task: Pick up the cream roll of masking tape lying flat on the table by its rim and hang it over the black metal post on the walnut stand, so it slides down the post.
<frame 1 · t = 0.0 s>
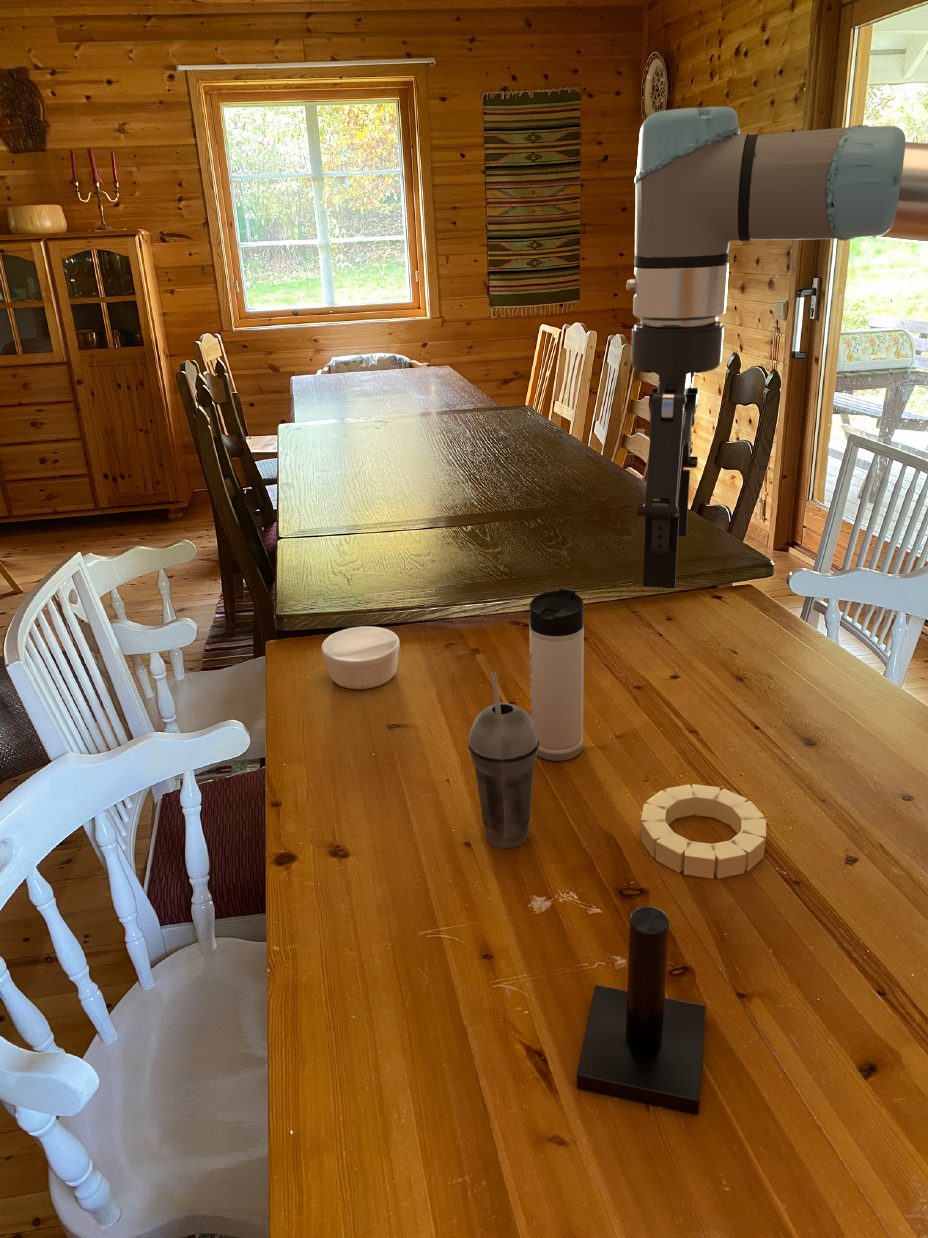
hand: (666, 558, 85), 30 cm above the table, tool pointing down, fingers open, 13 cm apart
beverage cup: (506, 836, 98), on the table
ramekin: (363, 676, 132), on the table
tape: (701, 838, 96), on the table
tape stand: (643, 1052, 72), on the table
travel mug: (557, 748, 113), on the table
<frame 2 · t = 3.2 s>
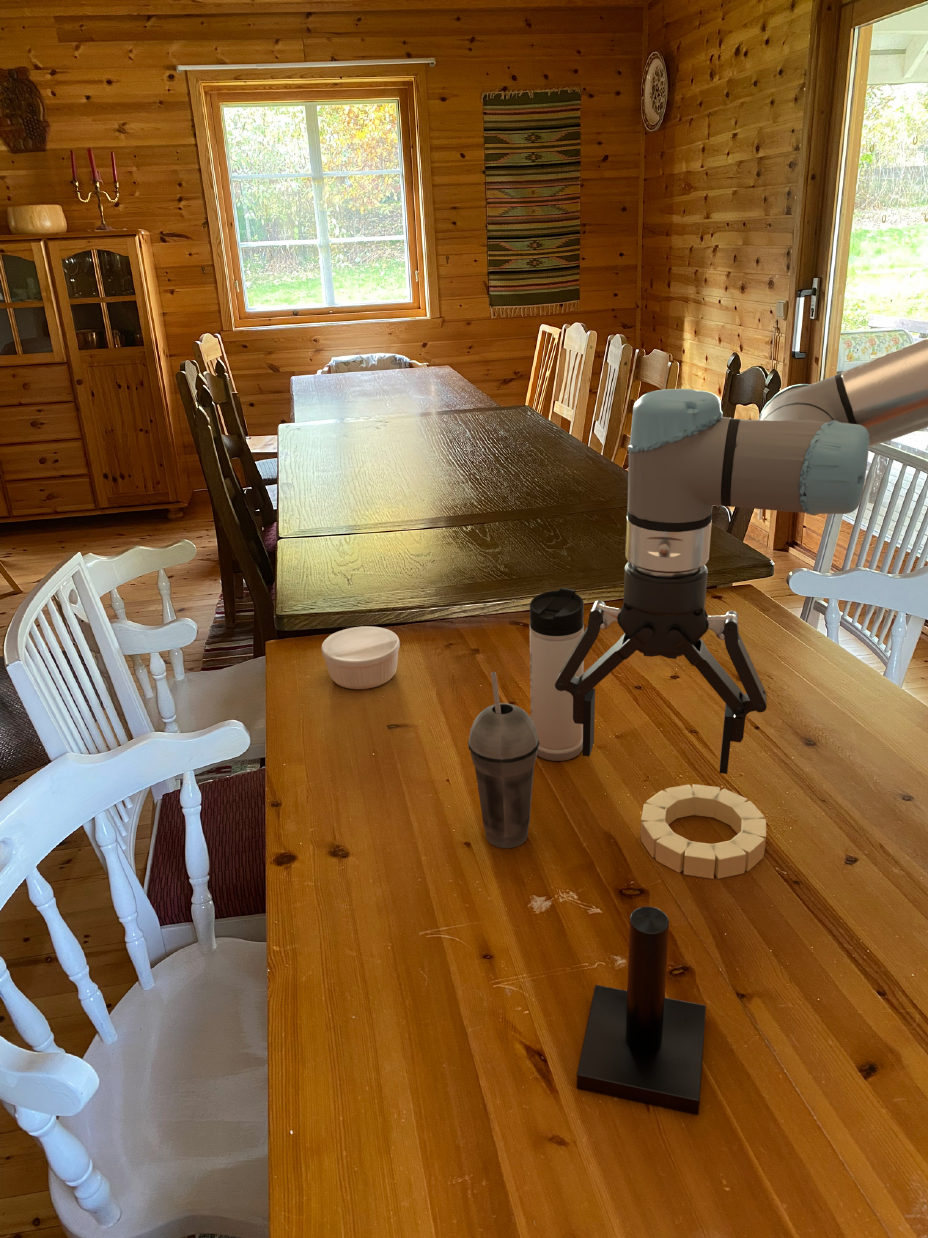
hand: (654, 758, 93), 9 cm above the table, tool pointing down, fingers open, 13 cm apart
nothing on the table moved.
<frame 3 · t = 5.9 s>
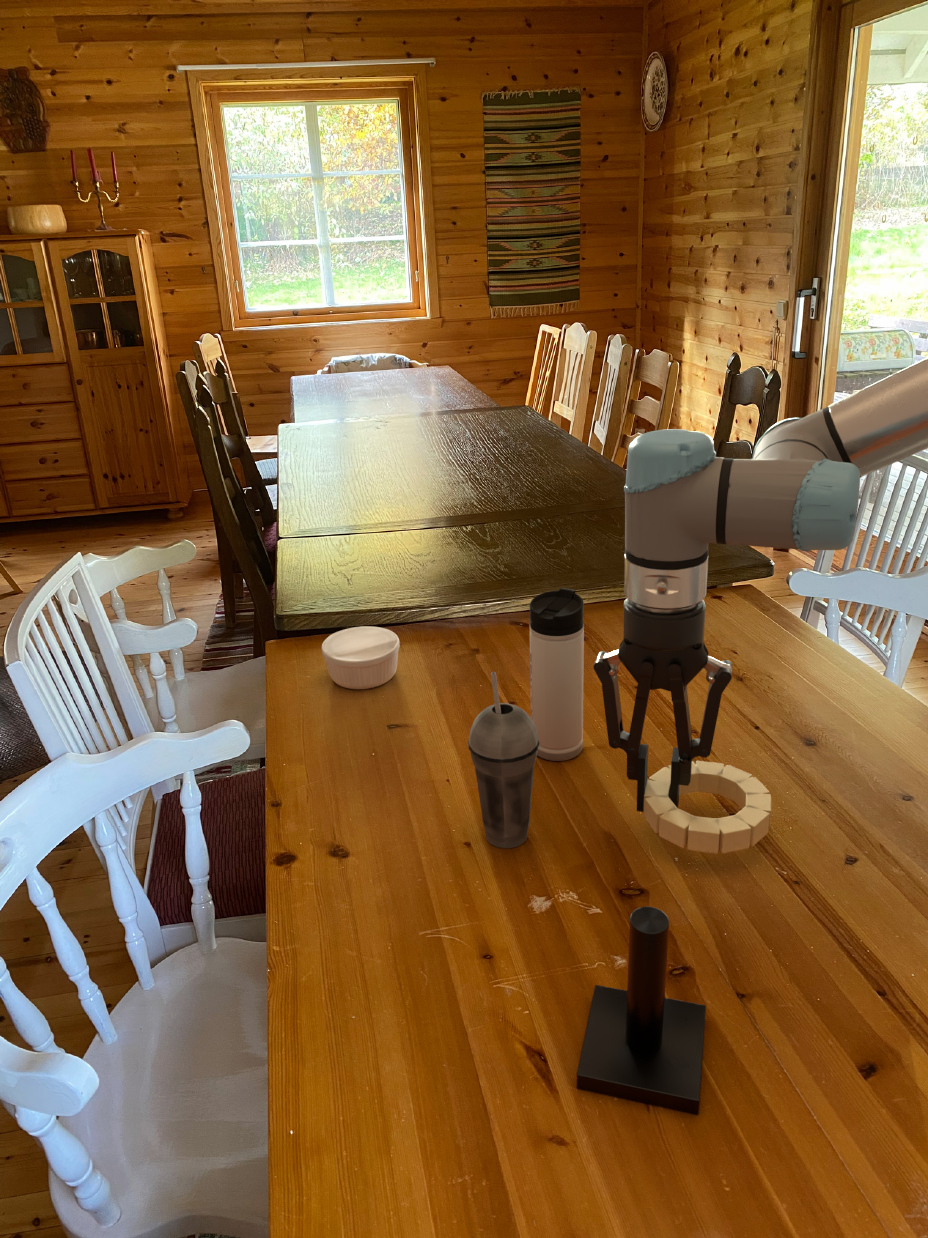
hand: (657, 805, 95), 3 cm above the table, tool pointing down, fingers closed on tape, 3 cm apart
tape: (705, 814, 94), point 3 cm above the table, touching gripper
everything else where it was.
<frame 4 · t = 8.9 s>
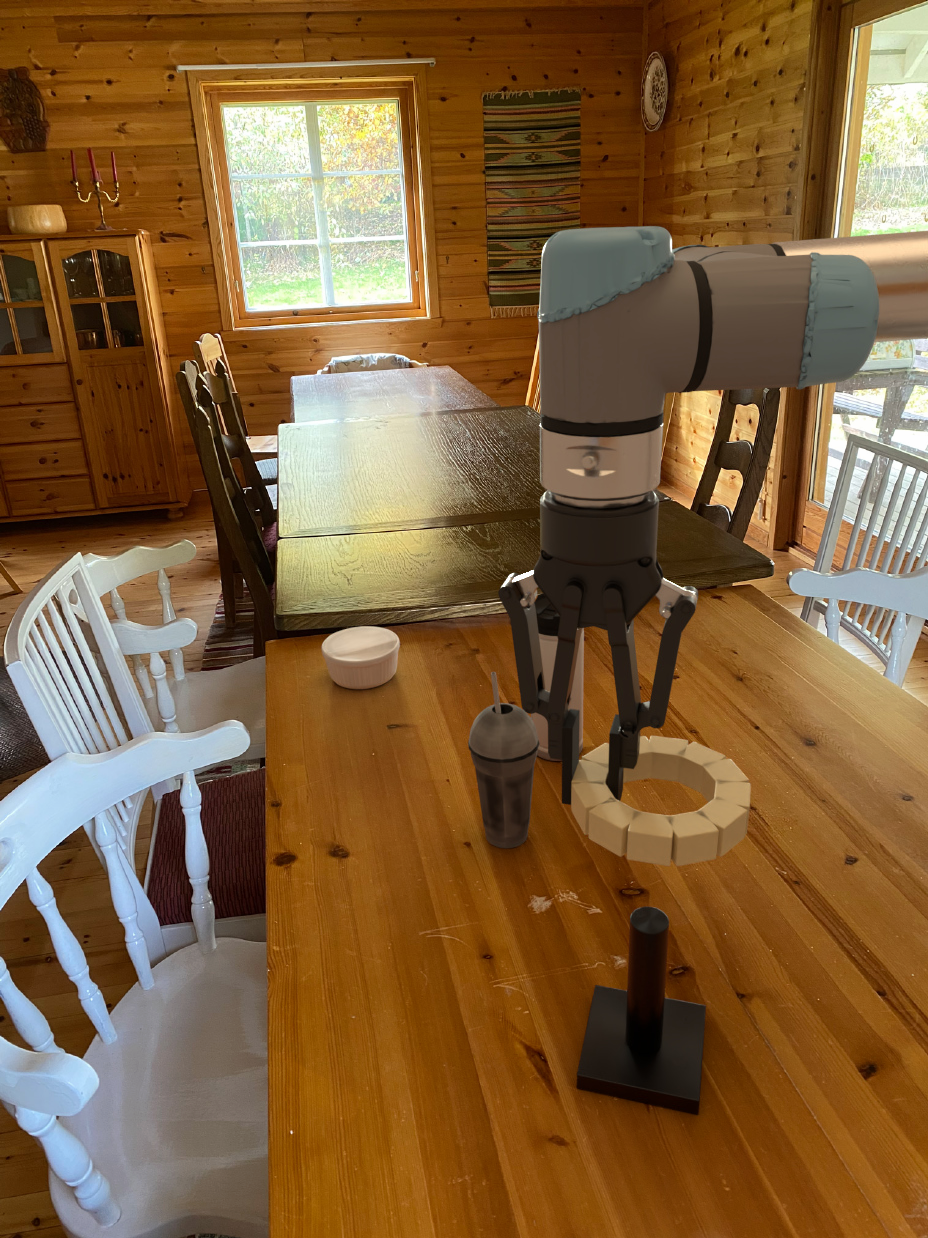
hand: (592, 796, 68), 21 cm above the table, tool pointing down, fingers closed on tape, 3 cm apart
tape: (658, 809, 67), point 21 cm above the table, touching gripper
everything else where it was.
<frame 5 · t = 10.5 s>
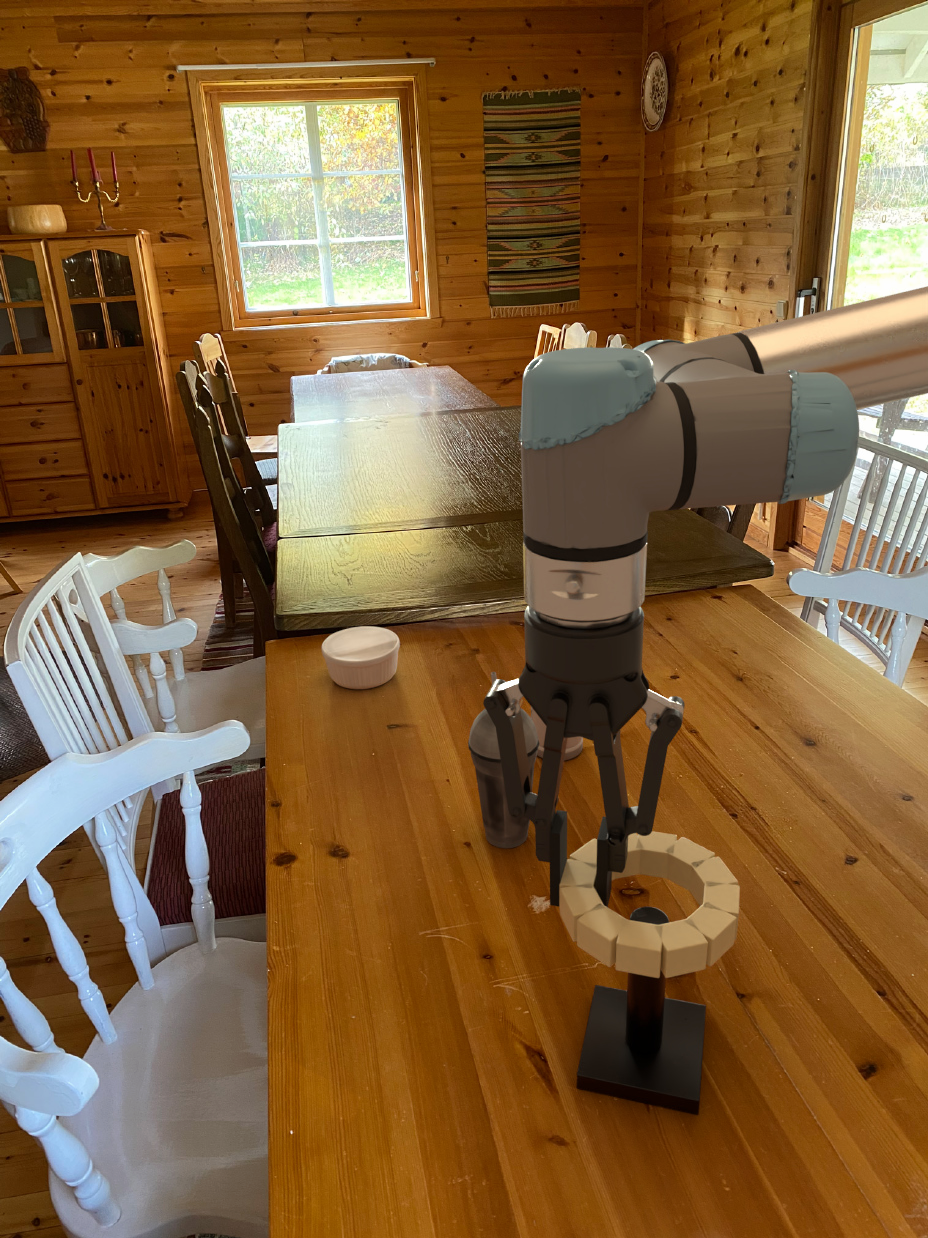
hand: (580, 896, 67), 15 cm above the table, tool pointing down, fingers closed on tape, 3 cm apart
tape: (647, 911, 66), point 14 cm above the table, touching gripper
everything else where it was.
when the fingers open (11 cm above the table, at t = 12.0 s): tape drops 9 cm, resting on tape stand.
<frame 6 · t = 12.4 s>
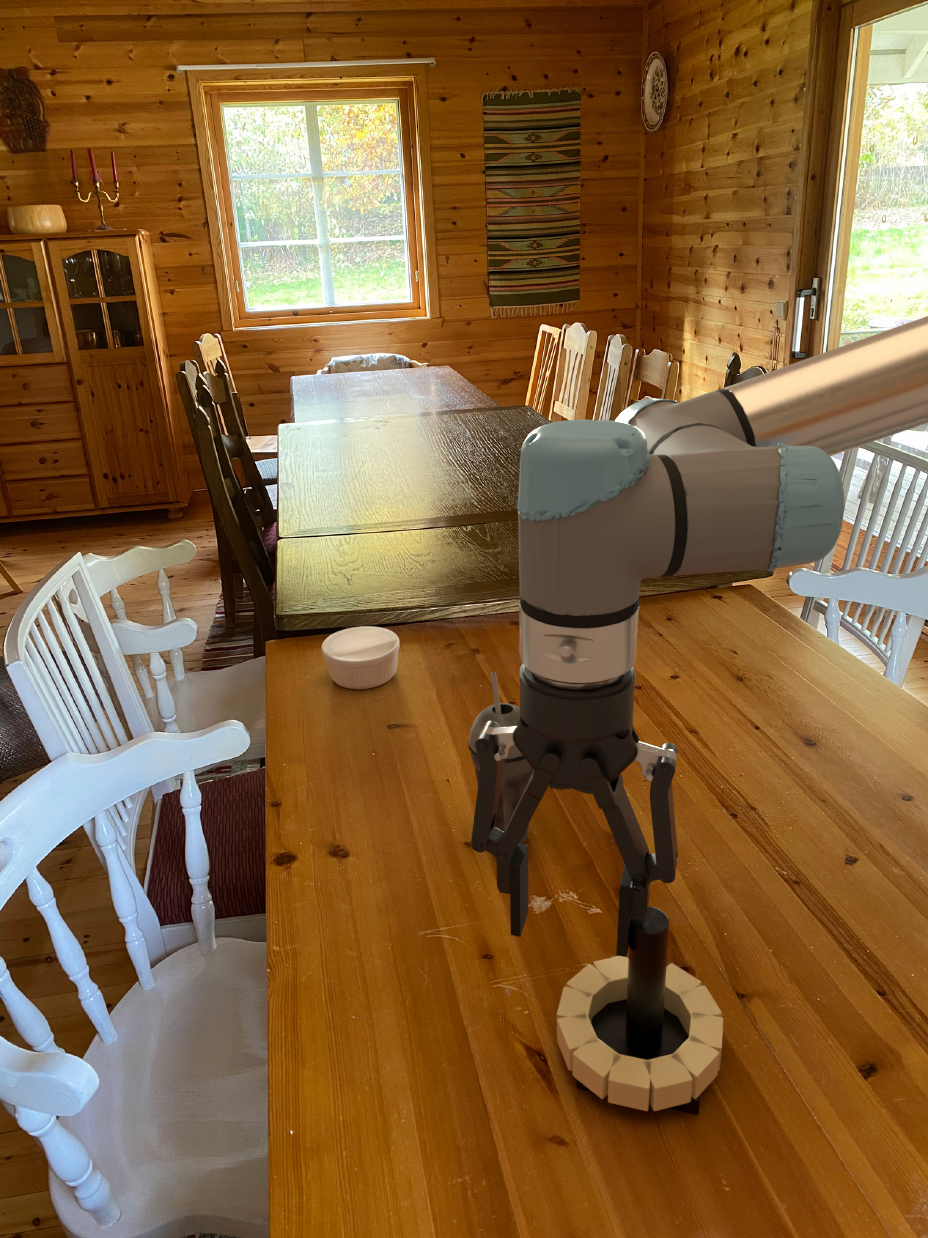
hand: (571, 933, 69), 11 cm above the table, tool pointing down, fingers open, 7 cm apart
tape: (638, 1038, 71), point 1 cm above the table, touching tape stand
everything else where it was.
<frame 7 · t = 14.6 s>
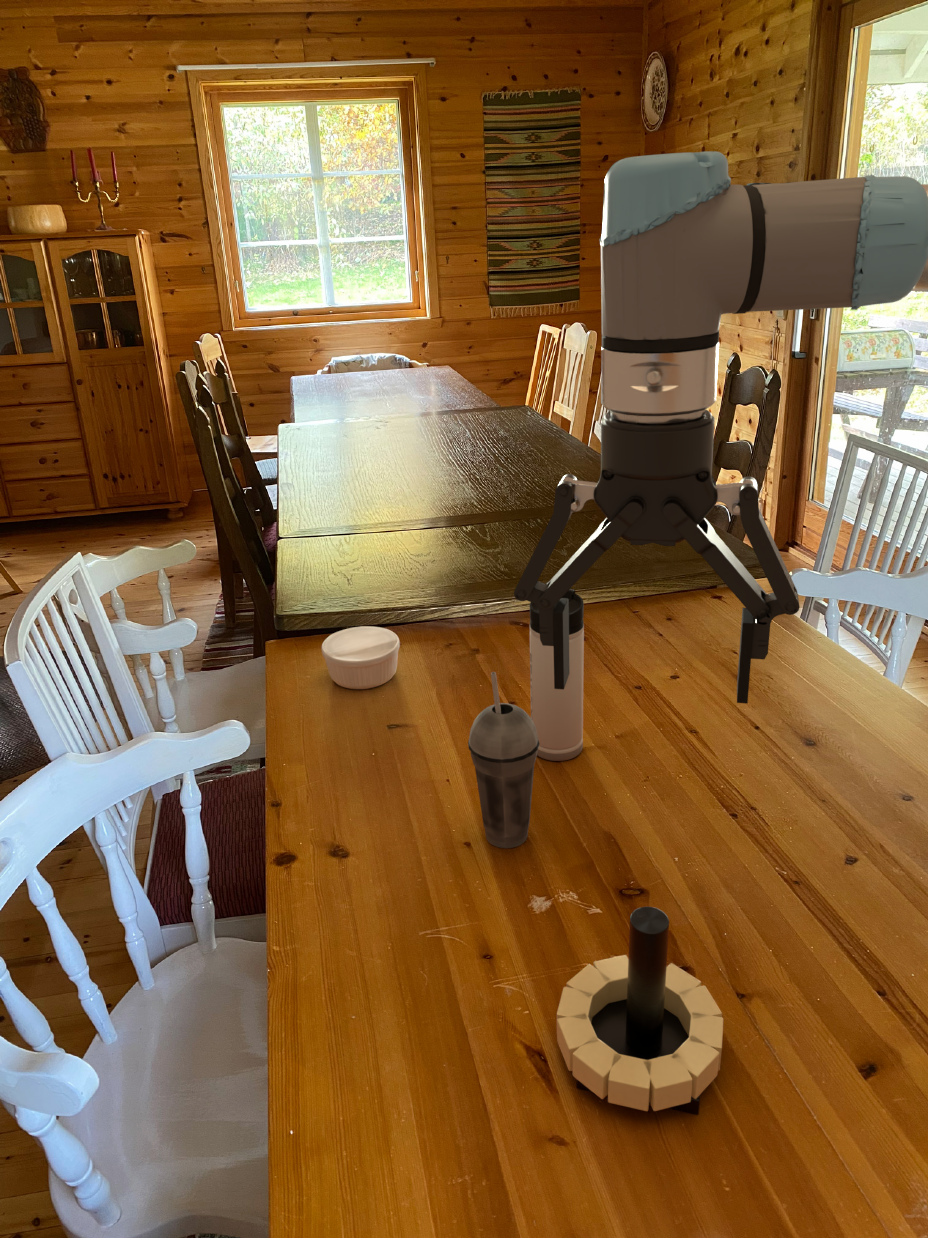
hand: (649, 688, 70), 27 cm above the table, tool pointing down, fingers open, 13 cm apart
nothing on the table moved.
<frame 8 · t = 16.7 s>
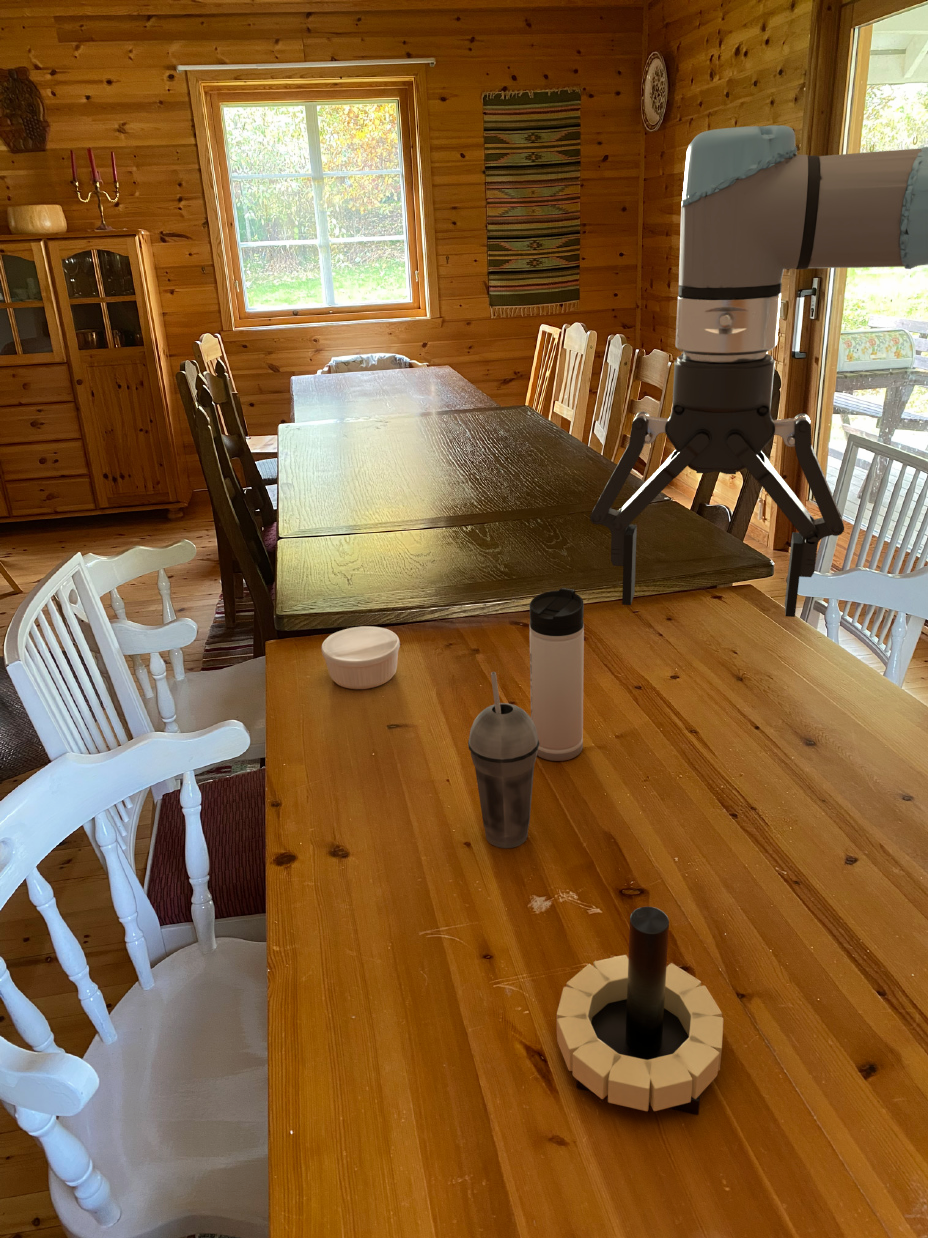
hand: (707, 605, 80), 29 cm above the table, tool pointing down, fingers open, 13 cm apart
nothing on the table moved.
at the end: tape 0.4 cm from the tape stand (horizontally); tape point 1.5 cm above the table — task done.
